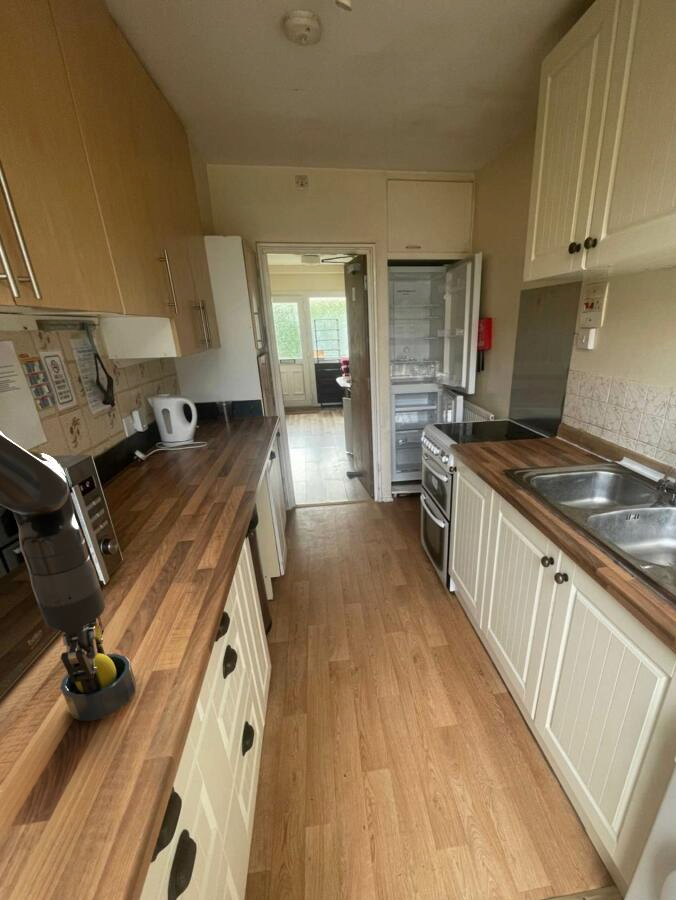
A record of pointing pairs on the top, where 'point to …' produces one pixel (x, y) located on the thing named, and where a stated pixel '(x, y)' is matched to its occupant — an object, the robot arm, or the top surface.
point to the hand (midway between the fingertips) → (96, 677)
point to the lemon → (103, 672)
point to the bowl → (101, 693)
